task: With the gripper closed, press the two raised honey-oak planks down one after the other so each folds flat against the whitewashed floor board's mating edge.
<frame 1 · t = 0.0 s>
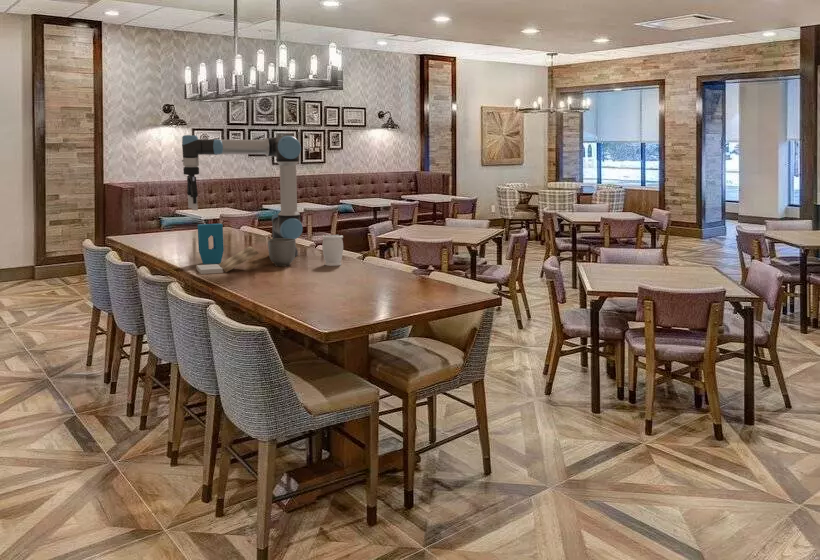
hand: (193, 209, 386), 28 cm above the table, fingers open, 13 cm apart
jar: (333, 265, 390), on the table
block: (211, 263, 394), on the table
plank a: (236, 257, 378), point 5 cm above the table, hinge at 28.0°
planter: (282, 265, 389), on the table
floor board: (209, 271, 370), on the table
plank b: (239, 260, 370), point 5 cm above the table, hinge at 28.0°
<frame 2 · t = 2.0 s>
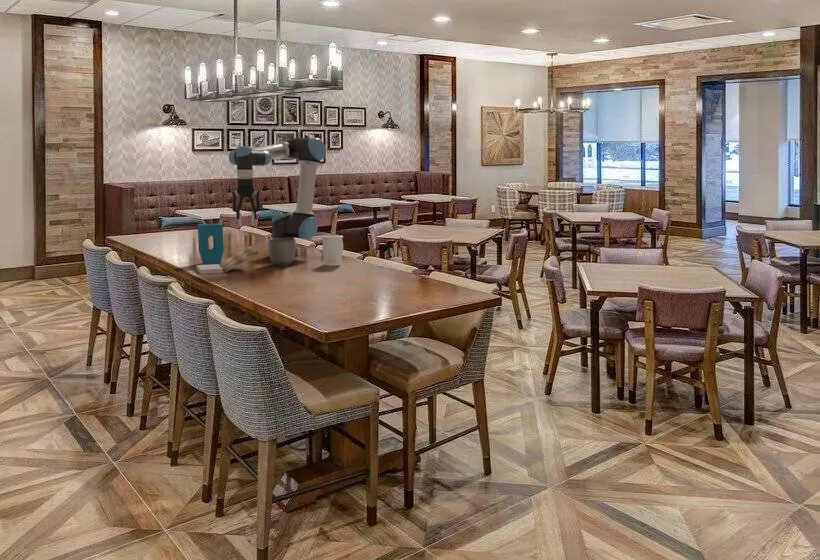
hand: (246, 225, 377), 21 cm above the table, fingers open, 6 cm apart
nothing on the table moved.
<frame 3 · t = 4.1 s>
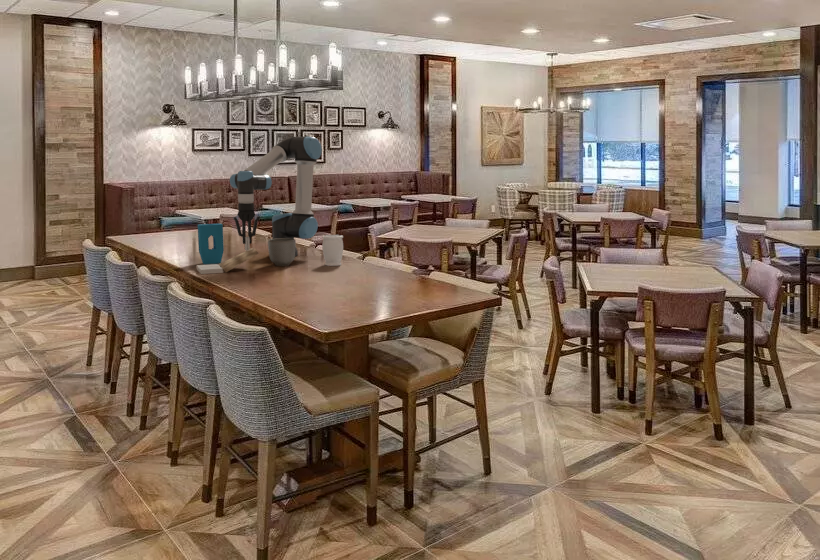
hand: (247, 250, 379), 9 cm above the table, fingers closed
plank a: (237, 258, 378), point 5 cm above the table, hinge at 23.7°, touching gripper
everything else where it was.
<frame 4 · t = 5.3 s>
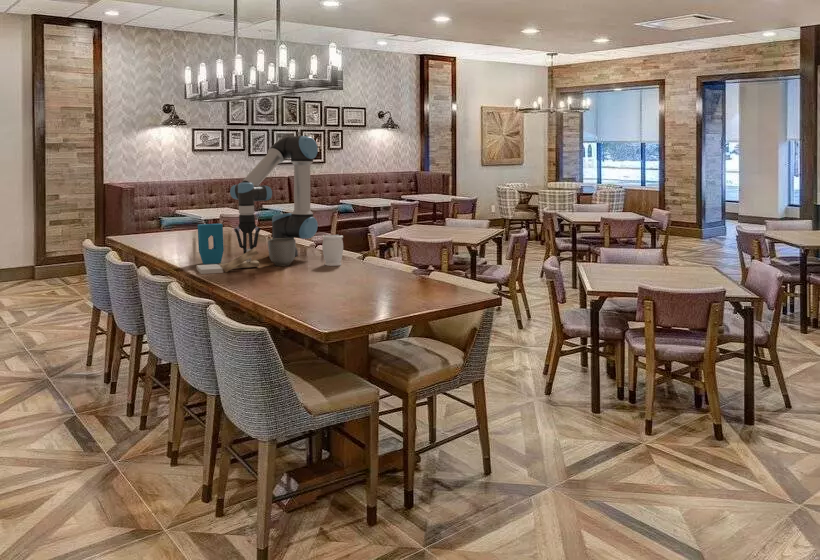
hand: (248, 261, 380), 3 cm above the table, fingers closed, pressing on plank a
plank a: (239, 265, 379), point 1 cm above the table, hinge at 2.4°, touching gripper
everything else where it was.
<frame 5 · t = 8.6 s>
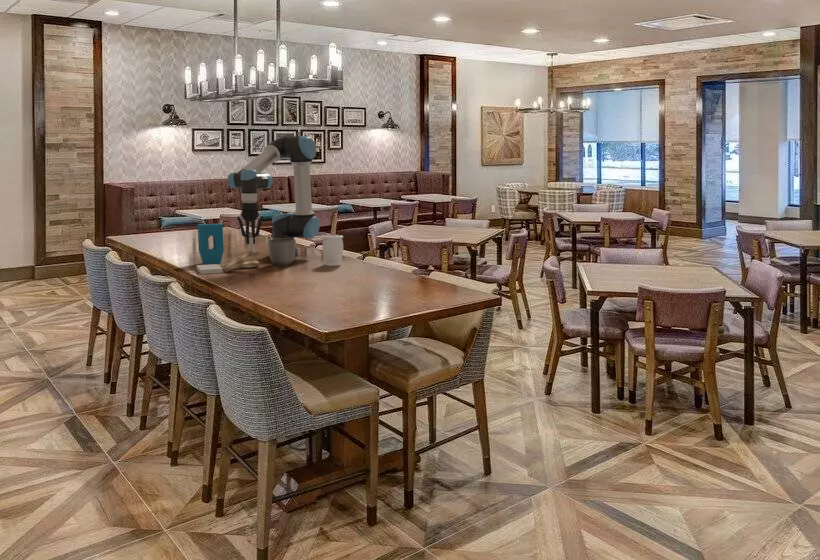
hand: (250, 250, 372), 9 cm above the table, fingers closed
plank a: (239, 265, 379), point 1 cm above the table, hinge at 2.1°
plank b: (240, 260, 370), point 5 cm above the table, hinge at 26.4°, touching gripper
everything else where it was.
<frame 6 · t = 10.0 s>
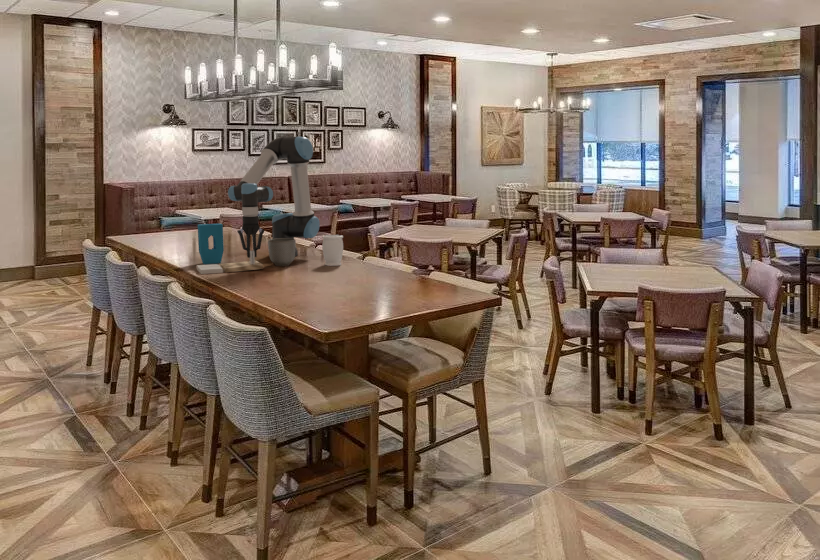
hand: (252, 264, 373), 3 cm above the table, fingers closed, pressing on plank b
plank b: (243, 267, 371), point 1 cm above the table, hinge at 2.5°, touching gripper
everything else where it was.
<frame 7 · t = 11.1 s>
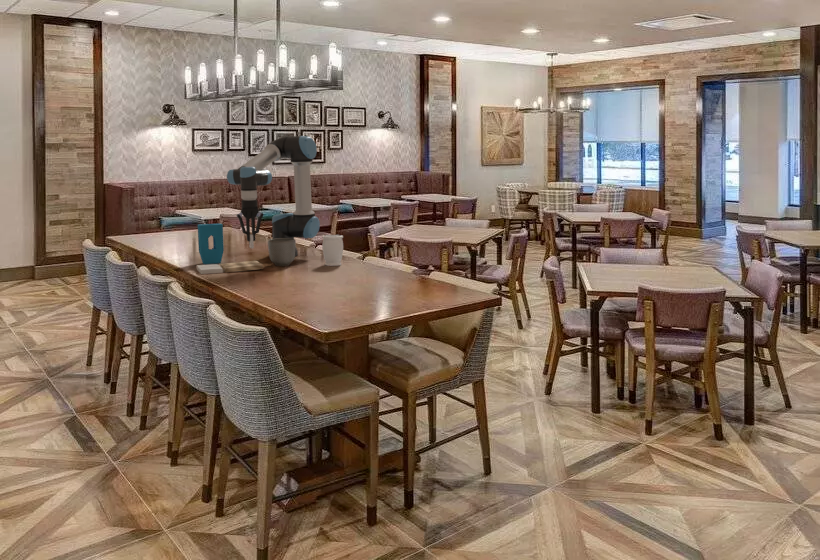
hand: (251, 247, 372), 11 cm above the table, fingers closed
plank b: (243, 267, 371), point 1 cm above the table, hinge at 2.3°
everything else where it was.
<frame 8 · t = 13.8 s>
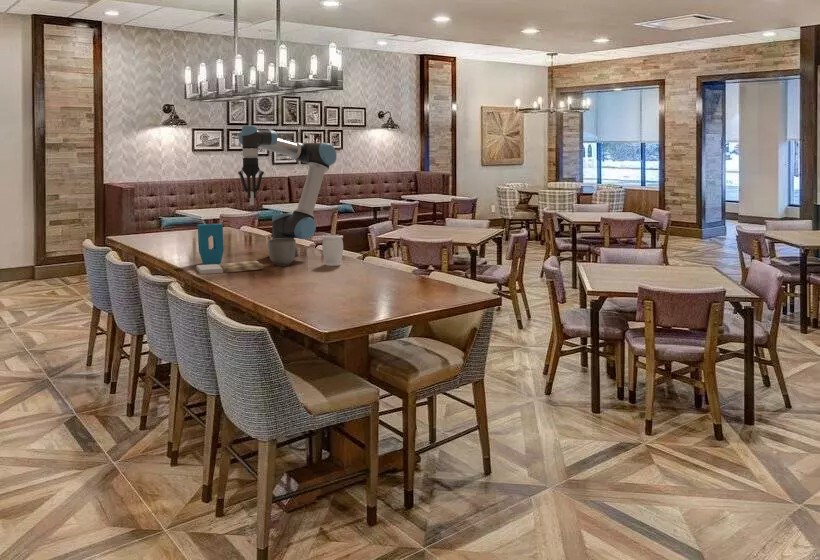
hand: (251, 204, 384), 30 cm above the table, fingers closed
nothing on the table moved.
at the end: plank a at +2° (first picture: +28°); plank b at +2° (first picture: +28°) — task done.
